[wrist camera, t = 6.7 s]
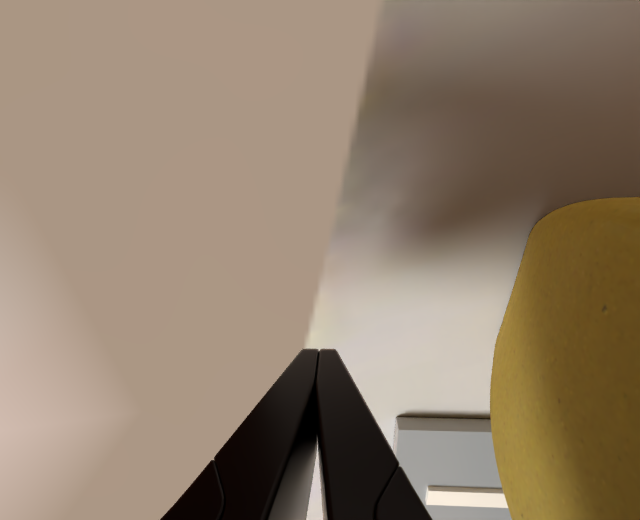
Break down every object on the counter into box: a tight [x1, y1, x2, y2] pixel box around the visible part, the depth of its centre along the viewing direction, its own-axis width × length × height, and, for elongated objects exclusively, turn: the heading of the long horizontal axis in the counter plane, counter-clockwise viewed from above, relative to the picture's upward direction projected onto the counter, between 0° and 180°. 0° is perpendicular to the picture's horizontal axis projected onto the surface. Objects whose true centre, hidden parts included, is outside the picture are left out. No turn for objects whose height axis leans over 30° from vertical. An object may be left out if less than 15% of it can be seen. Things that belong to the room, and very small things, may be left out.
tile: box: [393, 417, 512, 520], centre depth 14 cm, size 8×8×1 cm
